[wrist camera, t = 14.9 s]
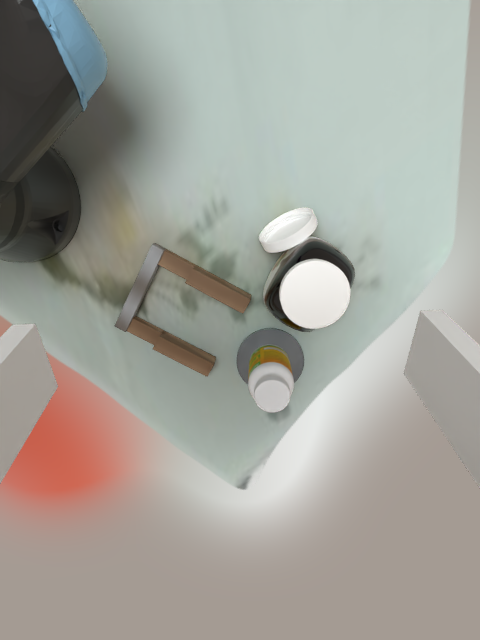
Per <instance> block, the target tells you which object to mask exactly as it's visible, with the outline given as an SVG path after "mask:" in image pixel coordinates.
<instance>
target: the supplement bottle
mask: <svg viewBox="0 0 480 640" xmlns="http://www.w3.org/2000/svg"><path fill="white" fill-rule="evenodd" d="M248 388H249V391H250V394H251V395H252V397H253V398H254V399H255V402H256V404H257V405H258V407H259V408H261V409H262V410H264V411H267V412H278V411H281V410H283V409H284V408H285V407H286V406H287V405H288V403H289V401H290V396H291V394H292V392H293V389H294V379H293V374H292V370H291V365H290V361H289V357H288V355H287V353H286V352H285V351H284V350H283V349H282V348H281V347H279V346H276V345H272V344H267V345H262V346H260V347H258V348H257V349H256V350H255V351H254V352H253V353H252V355H251V357H250V361H249V375H248Z"/></svg>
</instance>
